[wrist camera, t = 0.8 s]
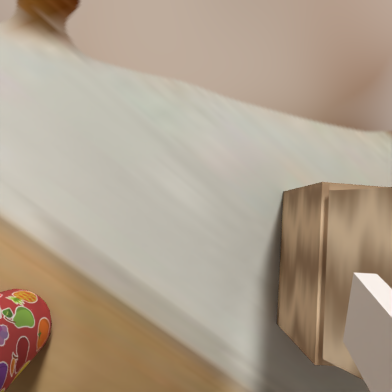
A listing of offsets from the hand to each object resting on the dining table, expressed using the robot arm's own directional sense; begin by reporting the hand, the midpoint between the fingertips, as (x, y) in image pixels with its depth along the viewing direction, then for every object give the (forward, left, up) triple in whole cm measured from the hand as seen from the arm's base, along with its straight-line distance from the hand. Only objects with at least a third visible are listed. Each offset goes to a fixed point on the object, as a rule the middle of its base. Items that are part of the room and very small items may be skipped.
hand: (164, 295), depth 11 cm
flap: (-1, -12, -12) cm, 17 cm away
